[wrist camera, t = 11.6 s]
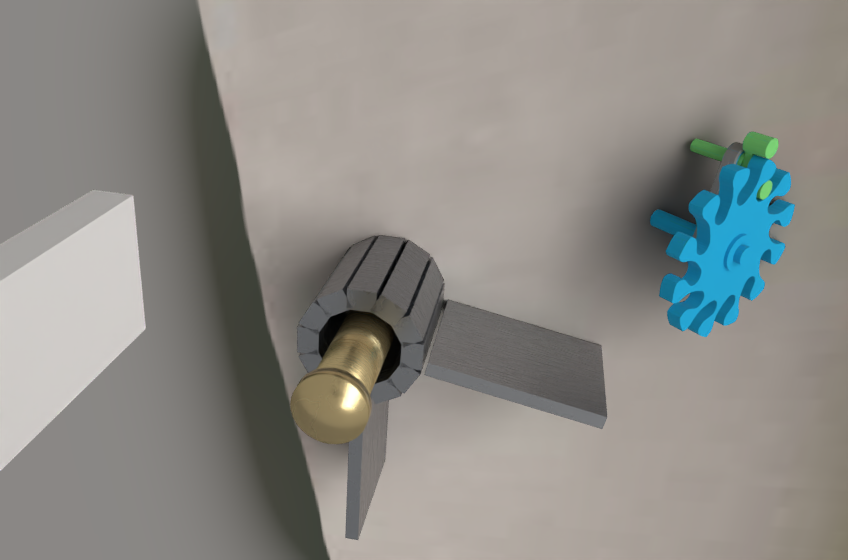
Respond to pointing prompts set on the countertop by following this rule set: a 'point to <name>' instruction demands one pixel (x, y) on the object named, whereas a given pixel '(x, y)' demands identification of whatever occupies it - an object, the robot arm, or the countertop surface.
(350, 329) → the pin
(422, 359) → the hinge leaf fixed
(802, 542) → the countertop surface
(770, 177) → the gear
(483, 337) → the hinge leaf swing
